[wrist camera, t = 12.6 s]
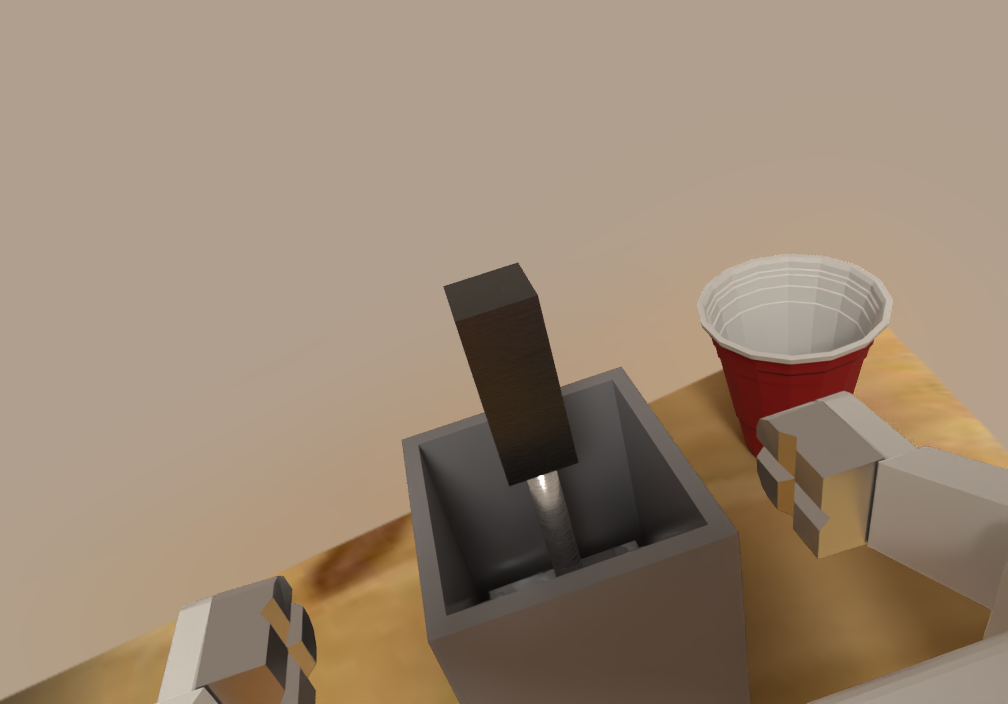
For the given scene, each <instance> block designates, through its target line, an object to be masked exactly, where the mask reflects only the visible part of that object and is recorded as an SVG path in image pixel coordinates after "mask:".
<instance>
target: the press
mask: <svg viewBox="0 0 1008 704" xmlns="http://www.w3.org/2000/svg"><path fill="white" fill-rule="evenodd" d="M560 389H561V393H562V397H563V401H564V405H565V409H566V413H567V417H568V421H569V425H570V430H571V434H572V438H573V442H574V446H575V450H576V454H577V458H578V462H579V463H577V464H574V465H571V466H568V467H565V468H562V469H559V470H557V473H558V477H559V480H560V484H561V488H562V491H563V495H564V499H565V502H566V506H567V510H568V514H569V517H570V521H571V525H572V528H573V532H574V536H575V539H576V543H577V547H578V550H579V554H580V558H581V559H583V558H586V557H589V556H591V555H594V554H597V553H600V552H603V551H606V550H609V549H612V548H614V547H617V546H620V545H623V544H626V543H629V542H632V541H636V543H637V545H638V547H639V549H637V550H634V551H631V552H628V553H625V554H622V555H620V556H617V557H614V558H611V559H608V560H605V561H602V562H600V563H597V564H594V565H591V566H588V567H585V568H582V569H579V570H577V571H574V572H571V573H568V574H565V575H562V576H559V577H557V578H554V579H551V580H548V581H545V582H542V583H539V584H537V585H534V586H531V587H528V588H525V589H522V590H519V591H517V592H514V593H511V594H508V595H505V596H502V597H499V598H497V599H494V600H491V599H490V595H489V591H491V590H494V589H497V588H500V587H503V586H505V585H508V584H511V583H514V582H517V581H520V580H523V579H526V578H528V577H531V576H534V575H537V574H540V573H543V572H546V571H548V570H551V569H554V568H553V565H552V561H551V558H550V555H549V552H548V548H547V545H546V542H545V539H544V535H543V532H542V529H541V526H540V522H539V519H538V516H537V513H536V509H535V506H534V503H533V500H532V496H531V493H530V490H529V487H528V483H527V481H524V482H521V483H518V484H515V485H512V486H509V484H508V481H507V478H506V475H505V472H504V469H503V466H502V463H501V460H500V457H499V454H498V451H497V448H496V445H495V442H494V439H493V436H492V433H491V430H490V427H489V424H488V421H487V418H486V415H485V412H484V413H481V414H478V415H475V416H472V417H469V418H466V419H463V420H460V421H457V422H454V423H451V424H448V425H445V426H442V427H439V428H436V429H433V430H430V431H427V432H424V433H421V434H418V435H415V436H412V437H409V438H406V439H403V440H402V446H403V453H404V461H405V468H406V476H407V484H408V491H409V499H410V507H411V515H412V522H413V530H414V537H415V545H416V553H417V560H418V568H419V576H420V583H421V591H422V599H423V606H424V614H425V622H426V629H427V637H428V643H429V645H430V647H431V649H432V650H433V652H434V654H435V656H436V658H437V660H438V662H439V664H440V666H441V668H442V670H443V672H444V674H445V676H446V678H447V680H448V682H449V683H450V685H451V687H452V689H453V691H454V693H455V695H456V697H457V699H458V701H459V703H460V704H751V700H750V686H749V672H748V657H747V643H746V629H745V615H744V600H743V586H742V572H741V558H740V544H739V532H738V531H737V530H736V528H735V527H734V525H733V524H732V523H731V521H730V520H729V518H728V517H727V515H726V514H725V513H724V511H723V510H722V508H721V507H720V506H719V504H718V503H717V501H716V500H715V499H714V497H713V496H712V494H711V493H710V491H709V490H708V489H707V487H706V486H705V484H704V483H703V482H702V480H701V479H700V477H699V476H698V474H697V473H696V472H695V470H694V469H693V467H692V466H691V465H690V463H689V462H688V460H687V459H686V457H685V456H684V455H683V453H682V452H681V450H680V449H679V448H678V446H677V445H676V443H675V442H674V440H673V439H672V438H671V436H670V435H669V433H668V432H667V431H666V429H665V428H664V426H663V425H662V423H661V422H660V421H659V419H658V418H657V416H656V415H655V414H654V412H653V411H652V409H651V408H650V406H649V405H648V404H647V402H646V401H645V399H644V398H643V397H642V395H641V394H640V392H639V391H638V389H637V388H636V387H635V385H634V384H633V382H632V381H631V380H630V378H629V377H628V375H627V374H626V373H625V371H624V370H623V368H622V367H619V368H616V369H613V370H610V371H607V372H604V373H601V374H598V375H595V376H592V377H589V378H586V379H583V380H580V381H577V382H574V383H571V384H568V385H565V386H562V387H560Z"/></svg>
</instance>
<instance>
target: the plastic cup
mask: <svg viewBox="0 0 1008 704" xmlns="http://www.w3.org/2000/svg"><path fill="white" fill-rule="evenodd" d="M892 304H893V299H892V298H891V296H890V294H889V293H888V291H887V289H886V288H885V286H884V284H883V283H882V281H881V280H880V279H878V278H877V277H875V276H873V275H872V274H870V273H869V272H867V271H865V270H864V269H862V268H861V267H859V266H857V265H855V264H852V263H848V262H845V261H841V260H837V259H834V258H830V257H826V256H817V255H801V254H783V255H776V256H769V257H762V258H755V259H752V260H749V261H747V262H744V263H741V264H739V265H736V266H734V267H731V268H728V269H726V270H724V271H723V272H722V273H720V274H719V275H718V276H716V277H715V278H714V279H712V280H711V281H710V282H709V283H707V284H706V285H705V287H704V289H703V292H702V293H701V295H700V298H699V299H698V301H697V308H698V312H699V317H700V322H701V325H702V327H703V329H704V330H705V331H706V332H707V333H708V334H709V335H710V337H711V338H712V341H713V344H714V345H715V347H716V349H717V354H718V357H719V358H720V359H721V362H722V366H723V370H724V373H725V377H726V380H727V384H728V387H729V391H730V394H731V398H732V401H733V405H734V408H735V412H736V415H737V417H738V418H739V421H740V424H741V428H742V432H743V435H744V439H745V443H746V444H747V446H748V448H749V450H750V451H751V453H752V454H753V455H754V456H755V457H756V458H757V456H758V454H759V453H760V451H761V450H762V448H763V447H764V445H763V444H762V443H761V442H760V441H759V440H758V438H757V424H758V422H759V419H761V418H764V417H767V416H770V415H773V414H776V413H779V412H782V411H785V410H788V409H791V408H794V407H797V406H800V405H803V404H806V403H809V402H814V401H815V400H818V399H821V398H824V397H827V396H830V395H832V394H835V393H838V392H841V391H846V392H849V393H851V394H853V392H854V389H855V386H856V383H857V379H858V376H859V373H860V370H861V367H862V363H863V360H864V359H865V358H866V356H867V353H868V350H869V348H870V346H871V345H872V344H873V341H874V339H875V338H876V337H877V336H878V335H879V334H880V333H881V332H882V331H883V330H884V329H885V328H886V327H887V325H888V324H889V321H890V316H891V310H892Z"/></svg>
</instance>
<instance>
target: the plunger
mask: <svg viewBox="0 0 1008 704" xmlns="http://www.w3.org/2000/svg"><path fill="white" fill-rule="evenodd" d="M444 290H445V293H446V296H447V299H448V302H449V305H450V308H451V311H452V314H453V317H454V321H455V324H456V326H457V330H458V333H459V336H460V339H461V342H462V345H463V348H464V351H465V354H466V357H467V360H468V363H469V366H470V369H471V372H472V375H473V378H474V381H475V384H476V387H477V390H478V393H479V396H480V399H481V402H482V406H483V408H484V411H485V415H486V418H487V421H488V424H489V427H490V430H491V433H492V436H493V439H494V442H495V445H496V448H497V451H498V454H499V457H500V460H501V463H502V466H503V469H504V472H505V475H506V478H507V481H508V484H509V486H512V485H515V484H518V483H521V482H524V481H527V483H528V487H529V490H530V493H531V496H532V500H533V503H534V506H535V509H536V513H537V516H538V519H539V522H540V526H541V529H542V532H543V535H544V539H545V542H546V545H547V548H548V552H549V555H550V558H551V561H552V565H553V568H554V569H551V570H548V571H546V572H543V573H540V574H537V575H534V576H531V577H528V578H526V579H523V580H520V581H517V582H514V583H511V584H508V585H505V586H503V587H500V588H497V589H494V590H491V591H489V595H490V599H491V600H494V599H497V598H499V597H502V596H505V595H508V594H511V593H514V592H517V591H519V590H522V589H525V588H528V587H531V586H534V585H537V584H539V583H542V582H545V581H548V580H551V579H554V578H557V577H559V576H562V575H565V574H568V573H571V572H574V571H577V570H579V569H582V568H585V567H588V566H591V565H594V564H597V563H600V562H602V561H605V560H608V559H611V558H614V557H617V556H620V555H622V554H625V553H628V552H631V551H634V550H637V549H639V547H638V545H637V543H636V541H632V542H629V543H626V544H623V545H620V546H617V547H614V548H612V549H609V550H606V551H603V552H600V553H597V554H594V555H591V556H589V557H586V558H583V559H581V558H580V554H579V550H578V547H577V543H576V539H575V536H574V532H573V528H572V525H571V521H570V517H569V514H568V510H567V506H566V502H565V499H564V495H563V491H562V488H561V484H560V480H559V477H558V473H557V470H559V469H562V468H565V467H568V466H571V465H574V464H577V463H579V462H578V458H577V454H576V450H575V446H574V442H573V438H572V434H571V430H570V425H569V421H568V417H567V413H566V409H565V405H564V401H563V397H562V393H561V389H560V385H559V381H558V376H557V372H556V368H555V364H554V360H553V356H552V352H551V348H550V344H549V339H548V335H547V331H546V327H545V323H544V319H543V315H542V311H541V307H540V303H539V299H538V295H537V293H536V292H535V290H534V288H533V287H532V285H531V283H530V282H529V280H528V278H527V277H526V275H525V273H524V272H523V270H522V268H521V267H520V265H519V263H515V264H512V265H509V266H506V267H502V268H499V269H496V270H493V271H490V272H487V273H484V274H481V275H478V276H475V277H471V278H468V279H465V280H462V281H459V282H456V283H453V284H450V285H446V286H444Z"/></svg>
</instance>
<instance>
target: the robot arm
mask: <svg viewBox="0 0 1008 704" xmlns="http://www.w3.org/2000/svg"><path fill="white" fill-rule="evenodd" d="M757 438H758V440H759V441H760V442H761V443H762V444H763V445H764V447H763V448H762V450H761V451H760V453H759V454H758V456H757V472H758V475H759V478H760V481H761V484H762V487H763V489H764V491H765V492H766V494H767V496H768V498H769V499H770V500H771V502H772V503H773V504H774V506H775V507H776V508H777V509H778V510H780V511H783V512H785V513H787V514H790V515H792V516H794V518H793V529H794V530H795V532H796V533H797V534H798V535H799V537H800V538H801V539H802V540H803V541H804V543H805V544H806V545H807V546H808V548H809V549H810V550H811V551H812V552H813V554H814V555H815V556H816V557H817V559H820V558H823V557H826V556H830V555H833V554H836V553H839V552H842V551H846V550H849V549H852V548H855V547H858V546H862V545H865V544H868V547H870V548H872V549H874V550H875V551H877V552H879V553H881V554H883V555H885V556H887V557H889V558H891V559H893V560H895V561H897V562H899V563H901V564H903V565H905V566H906V567H908V568H910V569H912V570H914V571H916V572H918V573H920V574H922V575H924V576H926V577H928V578H930V579H932V580H934V581H935V582H937V583H939V584H941V585H943V586H945V587H947V588H949V589H951V590H953V591H955V592H957V593H959V594H961V595H963V596H965V597H966V598H968V599H970V600H972V601H974V602H976V603H978V604H980V605H982V606H984V607H986V608H988V609H990V610H991V612H990V616H989V619H988V622H987V625H986V629H985V632H984V636H983V640H981V641H979V642H976V643H973V644H970V645H968V646H965V647H962V648H959V649H956V650H954V651H951V652H948V653H945V654H942V655H940V656H937V657H934V658H931V659H929V660H926V661H923V662H920V663H917V664H915V665H912V666H909V667H906V668H903V669H901V670H898V671H895V672H892V673H890V674H887V675H884V676H881V677H878V678H876V679H873V680H870V681H867V682H864V683H862V684H859V685H856V686H853V687H851V688H848V689H845V690H842V691H839V692H837V693H834V694H831V695H828V696H825V697H823V698H820V699H817V700H814V701H811V702H809V703H806V704H1008V470H1007V469H1004V468H1000V467H997V466H994V465H990V464H987V463H983V462H980V461H977V460H973V459H970V458H966V457H963V456H959V455H956V454H953V453H949V452H946V451H942V450H939V449H936V448H932V447H929V446H925V447H921V448H917V447H916V446H915V445H913V444H912V443H911V442H910V441H908V440H907V439H906V438H905V437H904V436H902V435H901V434H900V433H899V432H898V431H896V430H895V429H894V428H893V427H891V426H890V425H889V424H888V423H887V422H885V421H884V420H883V419H882V418H881V417H879V416H878V415H877V414H876V413H874V412H873V411H872V410H871V409H870V408H868V407H867V406H866V405H865V404H864V403H862V402H861V401H860V400H859V399H857V398H856V397H855V396H854V395H853V394H851V393H849V392H846V391H841V392H838V393H835V394H832V395H830V396H827V397H824V398H821V399H818V400H815V401H814V402H809V403H806V404H803V405H800V406H797V407H794V408H791V409H788V410H785V411H782V412H779V413H776V414H773V415H770V416H767V417H764V418H761V419H759V422H758V424H757ZM291 600H292V588H291V586H290V585H289V584H288V582H287V581H286V579H285V578H284V576H275V577H272V578H269V579H265V580H262V581H259V582H255V583H252V584H249V585H245V586H242V587H239V588H236V589H232V590H229V591H225V592H222V593H219V594H217V595H214V596H211V597H207V598H204V599H201V600H197V601H194V602H191V603H187V604H185V606H184V607H183V608H182V610H181V611H180V613H179V615H178V619H177V623H176V627H175V631H174V635H173V639H172V644H171V648H170V652H169V656H168V660H167V664H166V668H165V672H164V676H163V680H162V684H161V688H160V693H159V697H158V701H157V703H154V704H315V695H316V690H315V689H314V687H313V686H312V684H311V683H310V681H309V680H308V677H309V675H310V674H311V672H312V670H313V669H314V667H315V666H316V649H317V647H316V641H315V635H314V629H313V626H312V624H311V621H310V618H309V616H308V614H307V612H306V611H305V609H304V607H303V606H301V605H298V604H296V603H293V602H291Z"/></svg>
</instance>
